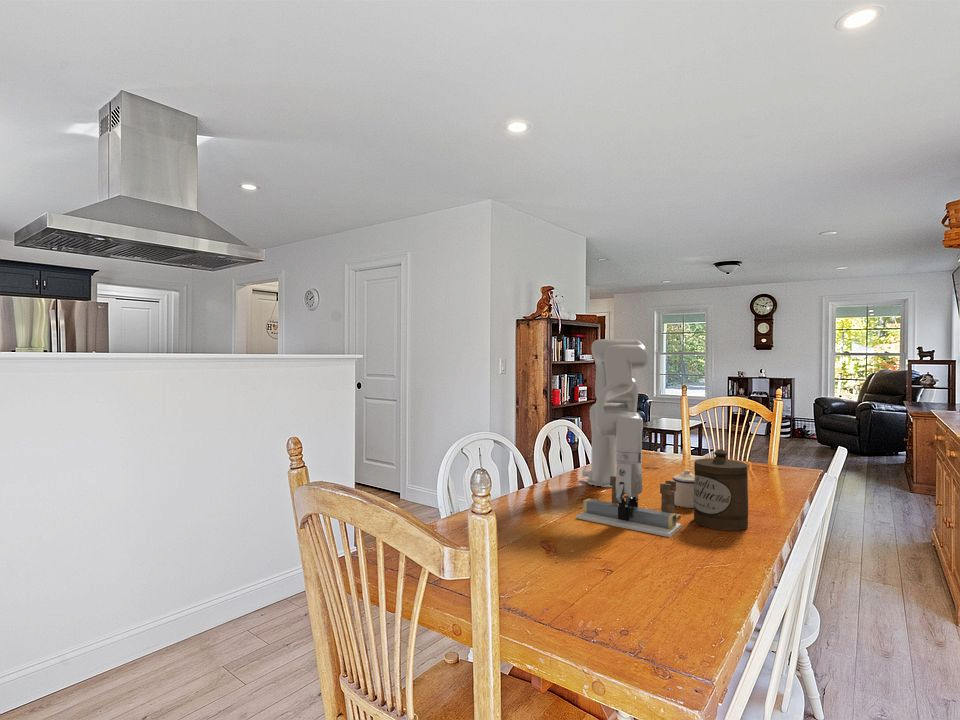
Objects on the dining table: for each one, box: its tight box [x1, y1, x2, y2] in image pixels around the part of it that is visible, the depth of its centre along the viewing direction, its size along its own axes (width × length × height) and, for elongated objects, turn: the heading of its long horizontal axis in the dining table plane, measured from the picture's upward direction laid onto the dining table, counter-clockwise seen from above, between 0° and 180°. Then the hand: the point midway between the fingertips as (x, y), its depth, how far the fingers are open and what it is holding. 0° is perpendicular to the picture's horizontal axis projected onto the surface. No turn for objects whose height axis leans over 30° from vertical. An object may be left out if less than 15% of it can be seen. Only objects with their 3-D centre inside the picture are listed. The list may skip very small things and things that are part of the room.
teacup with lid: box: [672, 469, 695, 509], centre depth 182 cm, size 12×9×12 cm
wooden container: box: [693, 448, 749, 532], centre depth 161 cm, size 15×15×22 cm
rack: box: [610, 476, 682, 522], centre depth 170 cm, size 22×6×11 cm, turn 54°
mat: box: [576, 511, 683, 538], centre depth 161 cm, size 28×11×1 cm, turn 54°
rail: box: [582, 498, 677, 530], centre depth 161 cm, size 27×4×4 cm, turn 54°
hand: (627, 516), depth 161 cm, fingers open, 6 cm apart
